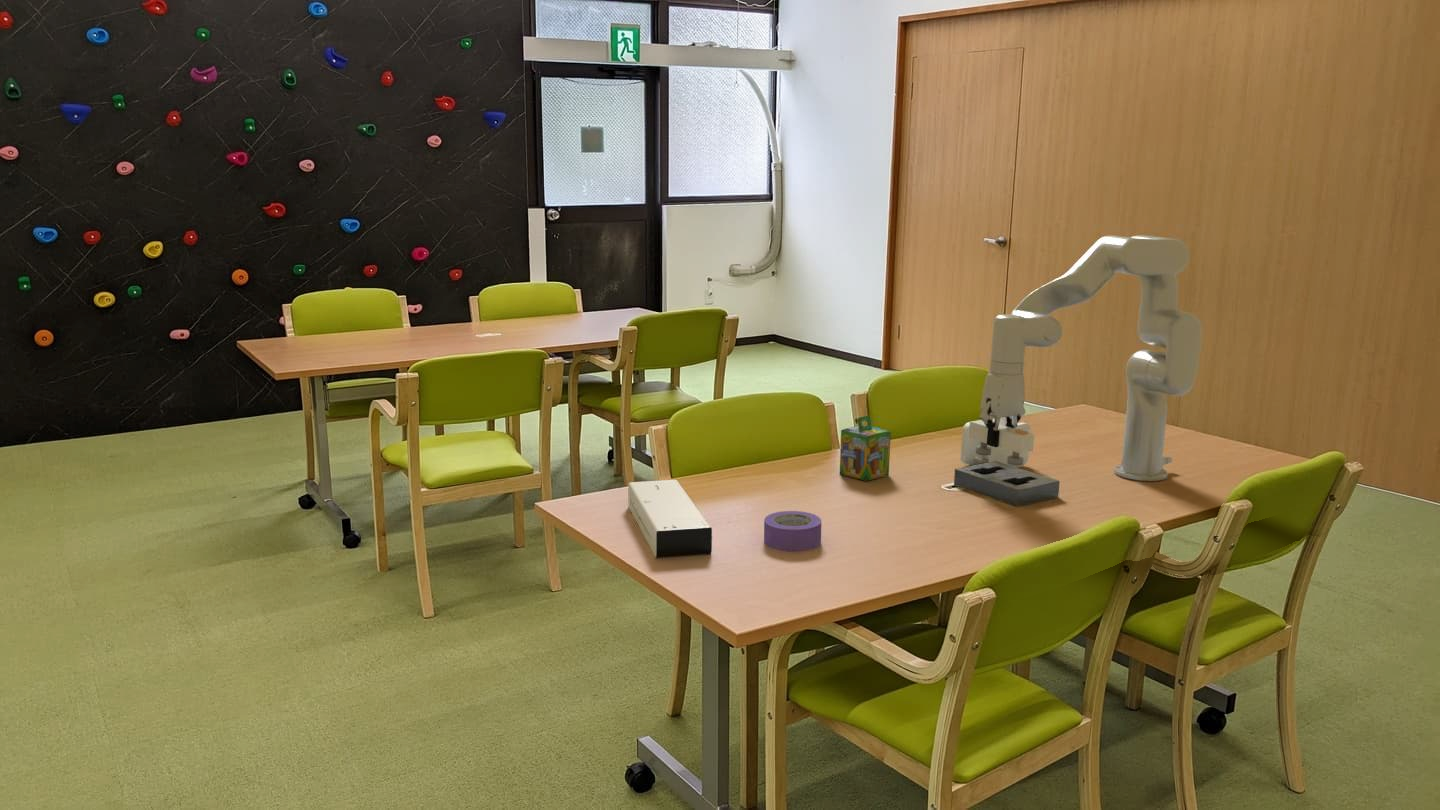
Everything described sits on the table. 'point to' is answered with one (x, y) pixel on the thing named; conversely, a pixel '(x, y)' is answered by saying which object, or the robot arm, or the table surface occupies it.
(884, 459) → the chalk box
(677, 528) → the laminator
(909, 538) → the table surface
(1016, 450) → the white bar with pegs
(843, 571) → the table surface
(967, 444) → the cable organizer
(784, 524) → the tape roll
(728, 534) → the table surface
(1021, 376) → the robot arm
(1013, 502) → the grey slotted tray
